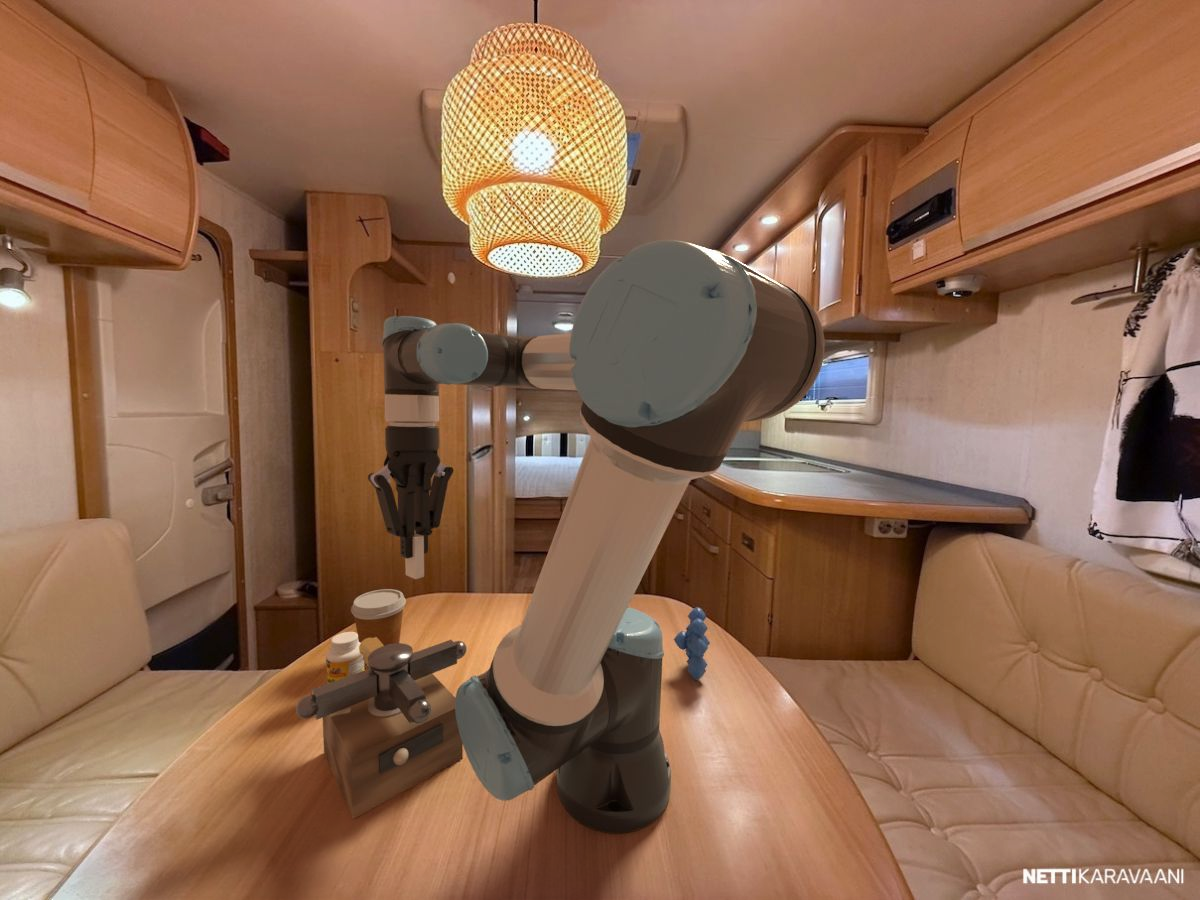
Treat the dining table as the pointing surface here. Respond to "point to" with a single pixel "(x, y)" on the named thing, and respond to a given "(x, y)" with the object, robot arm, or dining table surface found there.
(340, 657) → the supplement bottle
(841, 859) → the dining table surface
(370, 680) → the capstan
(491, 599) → the dining table surface
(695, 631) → the grapes
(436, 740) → the stand
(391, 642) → the disposable coffee cup
